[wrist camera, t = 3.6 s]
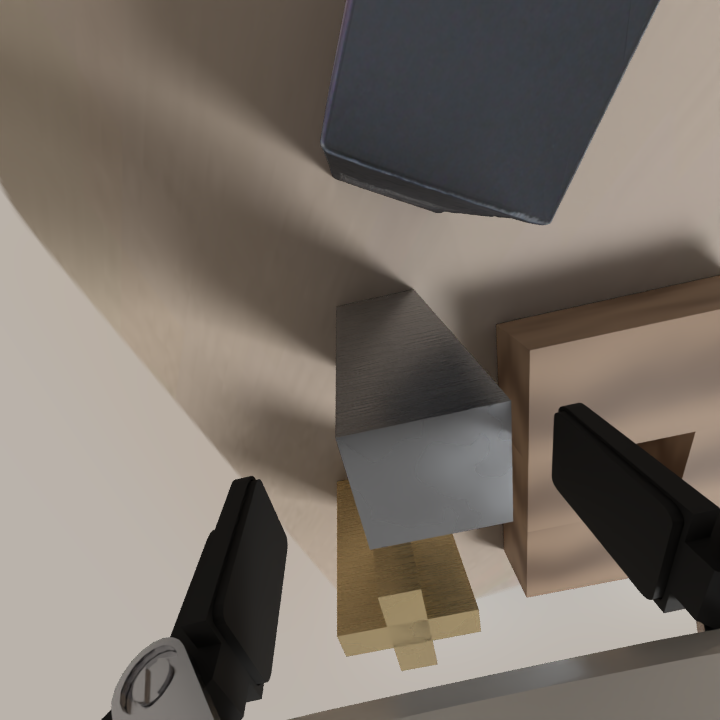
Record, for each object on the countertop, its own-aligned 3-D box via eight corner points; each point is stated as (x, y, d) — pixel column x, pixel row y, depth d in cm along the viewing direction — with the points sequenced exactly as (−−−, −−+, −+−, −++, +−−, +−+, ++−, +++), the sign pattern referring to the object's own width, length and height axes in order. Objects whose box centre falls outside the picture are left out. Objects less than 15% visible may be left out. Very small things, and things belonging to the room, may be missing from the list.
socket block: (496, 324, 21) (529, 350, 17) (726, 273, 20) (812, 289, 16) (503, 549, 30) (526, 597, 26) (660, 519, 30) (705, 563, 26)
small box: (388, -132, 12) (551, -1186, 3) (539, -55, 14) (1005, -647, 4) (323, 177, 17) (305, 146, 7) (442, 216, 18) (563, 233, 8)
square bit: (336, 306, 19) (335, 437, 9) (413, 289, 19) (511, 400, 8) (353, 374, 21) (370, 549, 11) (423, 359, 21) (512, 521, 10)
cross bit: (329, 457, 24) (324, 607, 15) (423, 437, 24) (475, 578, 15) (350, 521, 27) (356, 679, 18) (434, 504, 27) (483, 655, 18)
